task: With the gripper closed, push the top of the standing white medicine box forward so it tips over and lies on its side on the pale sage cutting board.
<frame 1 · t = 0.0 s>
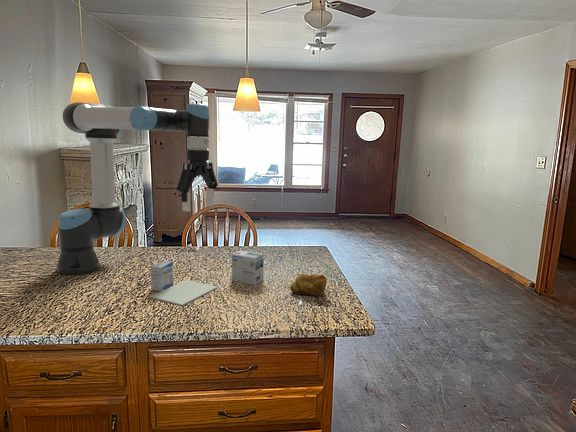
hand: (198, 208, 150), 28 cm above the counter, tool pointing down, fingers open, 13 cm apart
light bulb box: (247, 281, 159), on the counter
bread roll: (308, 293, 149), on the counter
cutting board: (184, 292, 144), on the counter
medicine box: (162, 287, 149), on the counter
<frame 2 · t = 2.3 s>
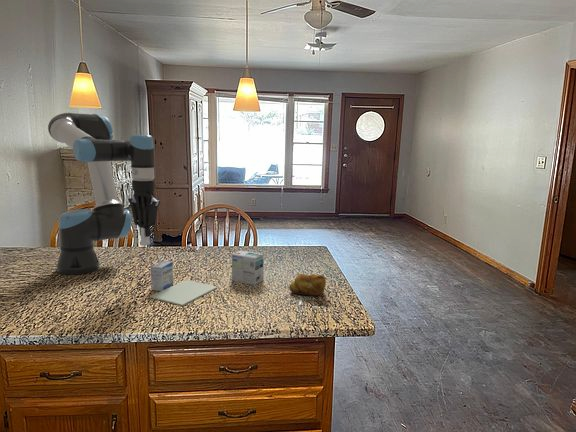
hand: (145, 244, 149), 15 cm above the counter, tool pointing down, fingers closed
nothing on the counter moved.
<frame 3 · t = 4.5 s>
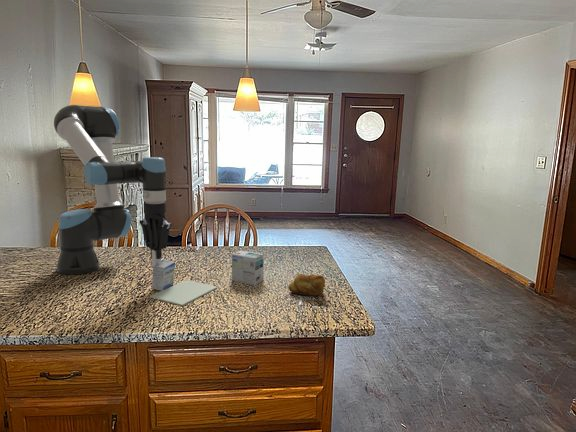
hand: (156, 267, 148), 7 cm above the counter, tool pointing down, fingers closed
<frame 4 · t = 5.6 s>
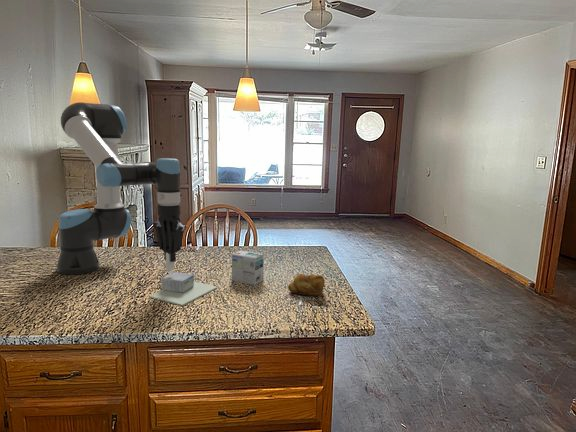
hand: (170, 270, 146), 7 cm above the counter, tool pointing down, fingers closed
medicine box: (166, 280, 148), point 3 cm above the counter, touching cutting board
everything else where it was.
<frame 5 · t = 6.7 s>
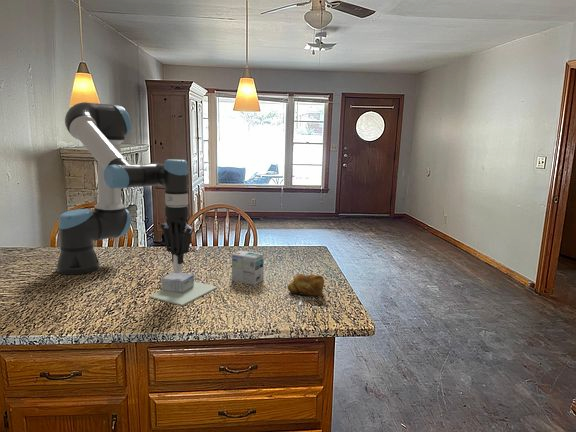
hand: (177, 272, 144), 7 cm above the counter, tool pointing down, fingers closed
nothing on the counter moved.
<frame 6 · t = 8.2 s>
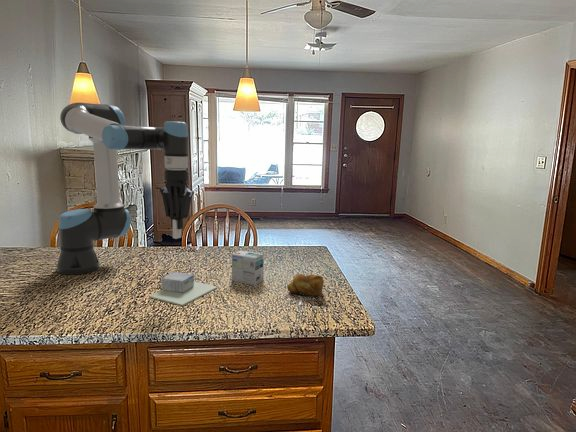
hand: (177, 237, 142), 19 cm above the counter, tool pointing down, fingers closed
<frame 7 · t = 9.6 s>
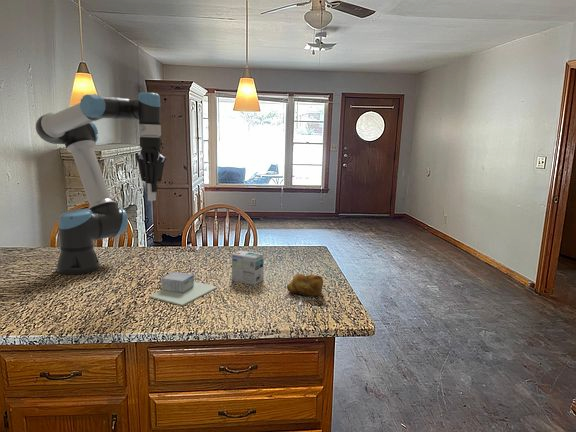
hand: (151, 200, 155), 29 cm above the counter, tool pointing down, fingers closed
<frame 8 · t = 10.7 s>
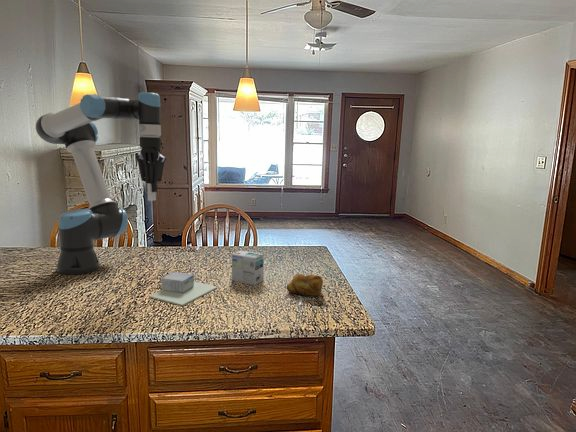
hand: (151, 200, 155), 29 cm above the counter, tool pointing down, fingers closed
at the end: medicine box tilted 90°; medicine box touching cutting board; medicine box moved 3.1 cm from its start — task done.
